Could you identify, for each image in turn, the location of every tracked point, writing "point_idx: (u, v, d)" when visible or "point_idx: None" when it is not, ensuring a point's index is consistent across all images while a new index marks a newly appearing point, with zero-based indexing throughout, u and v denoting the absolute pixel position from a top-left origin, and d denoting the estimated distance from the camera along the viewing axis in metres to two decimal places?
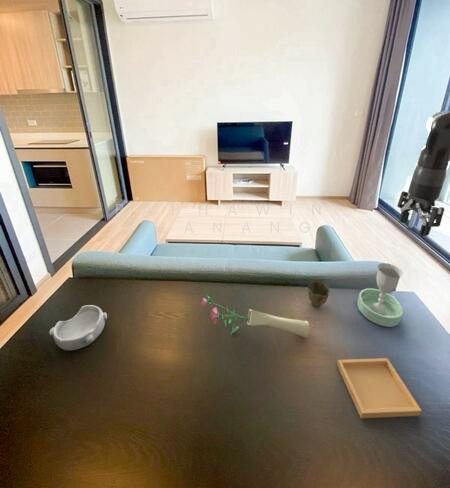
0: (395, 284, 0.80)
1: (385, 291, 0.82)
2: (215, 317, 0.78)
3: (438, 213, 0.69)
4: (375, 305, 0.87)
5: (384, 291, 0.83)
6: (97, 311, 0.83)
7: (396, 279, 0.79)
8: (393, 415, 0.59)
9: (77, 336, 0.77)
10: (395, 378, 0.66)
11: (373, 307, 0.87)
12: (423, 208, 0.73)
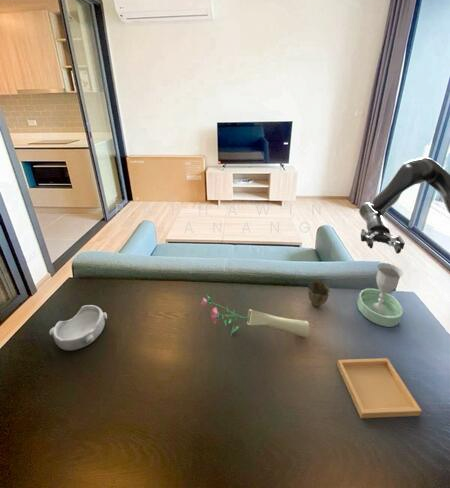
0: (395, 284, 0.80)
1: (385, 291, 0.82)
2: (215, 317, 0.78)
3: (361, 233, 1.00)
4: (375, 305, 0.87)
5: (384, 291, 0.83)
6: (97, 311, 0.83)
7: (396, 279, 0.79)
8: (393, 415, 0.59)
9: (77, 336, 0.77)
10: (395, 378, 0.66)
11: (373, 307, 0.87)
12: None
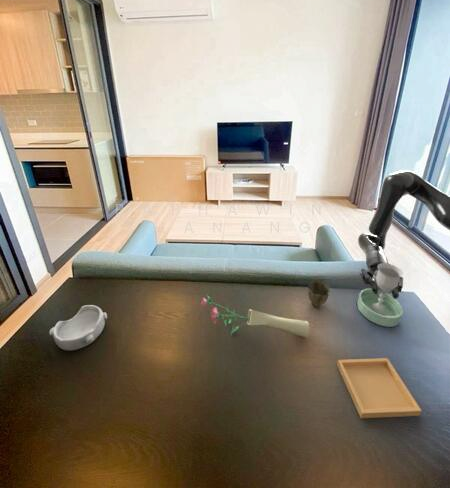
0: (395, 284, 0.80)
1: (385, 291, 0.82)
2: (215, 317, 0.78)
3: (361, 273, 0.92)
4: (375, 305, 0.87)
5: (384, 291, 0.83)
6: (97, 311, 0.83)
7: (396, 279, 0.79)
8: (393, 415, 0.59)
9: (77, 336, 0.77)
10: (395, 378, 0.66)
11: (373, 307, 0.87)
12: None
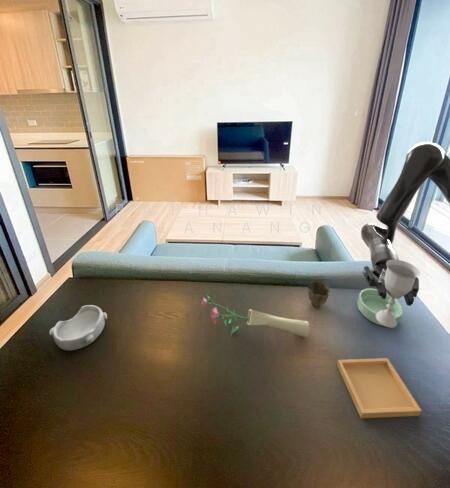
0: (409, 287, 0.61)
1: (396, 296, 0.63)
2: (215, 317, 0.78)
3: (364, 272, 0.73)
4: (382, 313, 0.68)
5: (395, 296, 0.64)
6: (97, 311, 0.83)
7: (411, 280, 0.60)
8: (393, 415, 0.59)
9: (77, 336, 0.77)
10: (395, 378, 0.66)
11: (380, 316, 0.68)
12: None
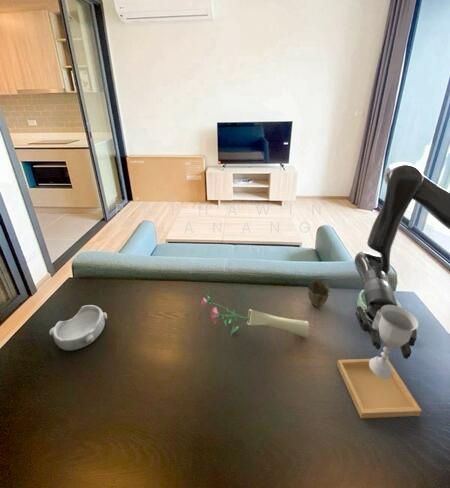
0: (406, 339, 0.55)
1: (391, 346, 0.57)
2: (215, 317, 0.78)
3: (357, 314, 0.66)
4: (377, 362, 0.62)
5: (390, 346, 0.57)
6: (97, 311, 0.83)
7: (408, 332, 0.54)
8: (393, 415, 0.59)
9: (77, 336, 0.77)
10: (395, 378, 0.66)
11: (374, 364, 0.62)
12: None
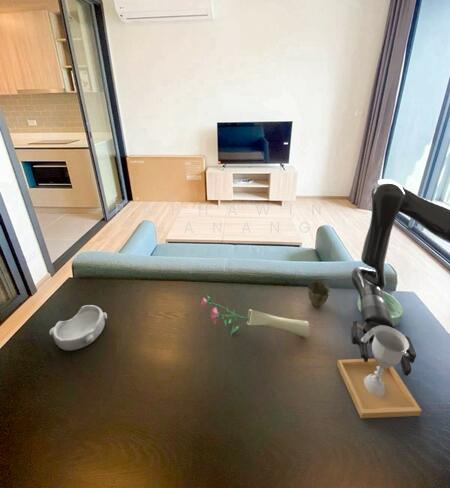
0: (398, 359, 0.57)
1: (384, 366, 0.60)
2: (215, 317, 0.78)
3: (352, 327, 0.69)
4: (371, 380, 0.64)
5: (383, 366, 0.60)
6: (97, 311, 0.83)
7: (399, 353, 0.57)
8: (393, 415, 0.59)
9: (77, 336, 0.77)
10: (395, 378, 0.66)
11: (368, 382, 0.65)
12: None
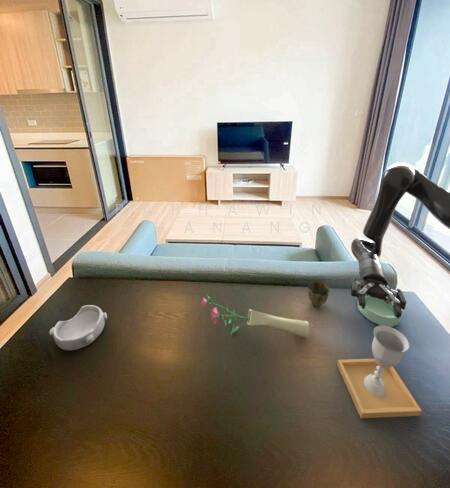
0: (398, 359, 0.57)
1: (384, 366, 0.60)
2: (215, 317, 0.78)
3: (351, 284, 0.80)
4: (371, 380, 0.64)
5: (383, 366, 0.60)
6: (97, 311, 0.83)
7: (399, 353, 0.57)
8: (393, 415, 0.59)
9: (77, 336, 0.77)
10: (395, 378, 0.66)
11: (368, 382, 0.65)
12: None
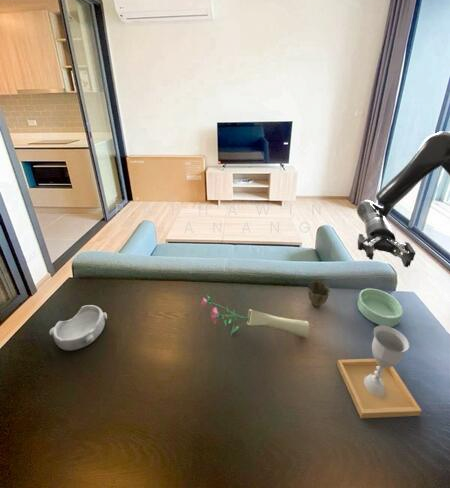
0: (398, 359, 0.57)
1: (384, 366, 0.60)
2: (215, 317, 0.78)
3: (358, 239, 0.78)
4: (371, 380, 0.64)
5: (383, 366, 0.60)
6: (97, 311, 0.83)
7: (399, 353, 0.57)
8: (393, 415, 0.59)
9: (77, 336, 0.77)
10: (395, 378, 0.66)
11: (368, 382, 0.65)
12: None
